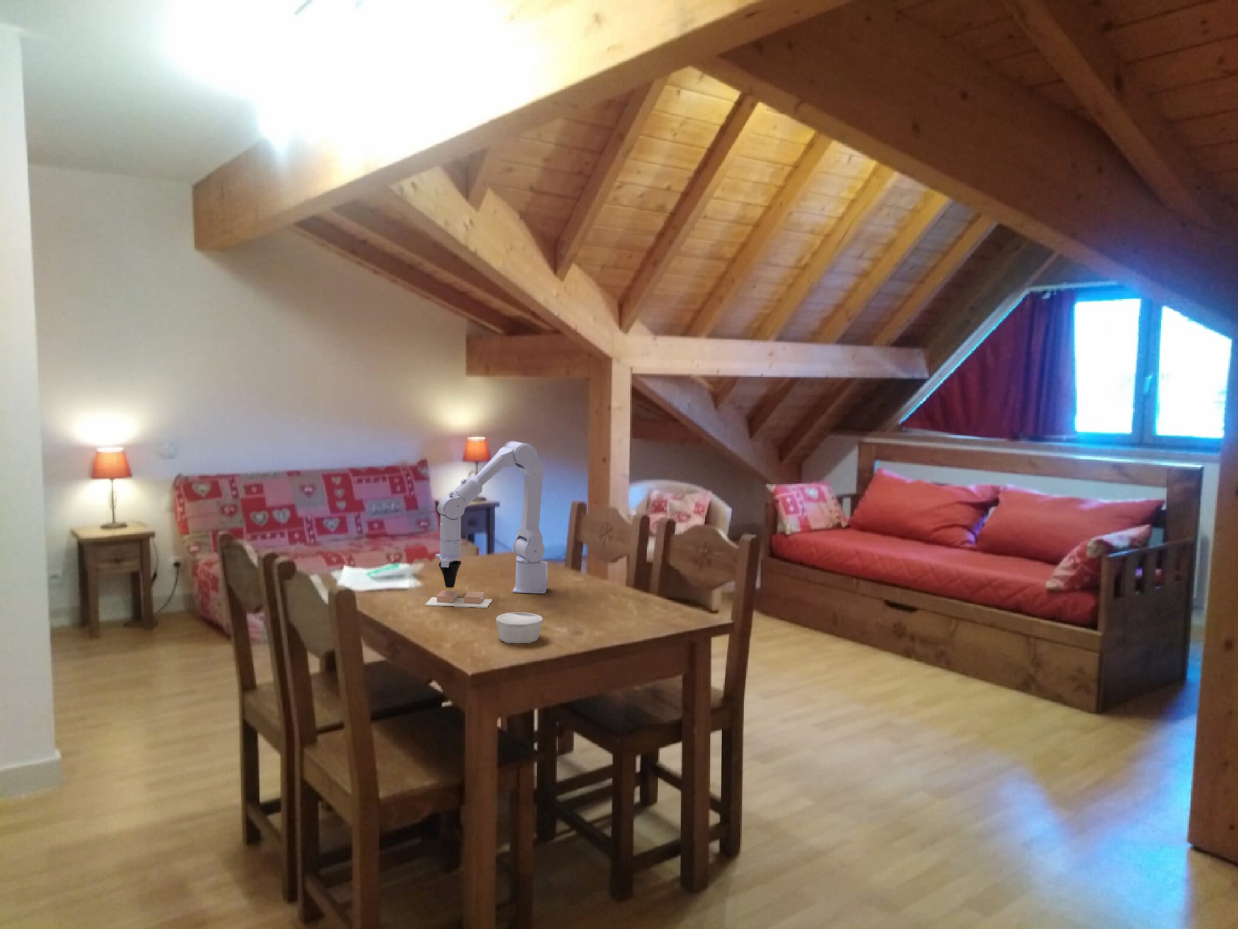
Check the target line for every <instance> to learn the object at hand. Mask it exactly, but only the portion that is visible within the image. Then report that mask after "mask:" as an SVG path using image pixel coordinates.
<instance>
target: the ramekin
mask: <svg viewBox="0 0 1238 929" xmlns="http://www.w3.org/2000/svg"><path fill="white" fill-rule="evenodd" d="M495 622H496V626H497V632H498V633H497V635H498V638H499V640H501V641H502V642H503V641H504V642H503V643H507V644H510V643H528V644H532V643H535V642H537V641H538V639H539V638H540V633H541V630H542V624H543V622H544V618H543V617H542V616H541V615H539V614H537V613H536V614H535V613H530V612H521V611H518V612H517V611H515V612H505V613H502V614H500V615H497V616H496V619H495ZM534 641H535V642H534ZM531 642H532V643H531Z"/></svg>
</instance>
